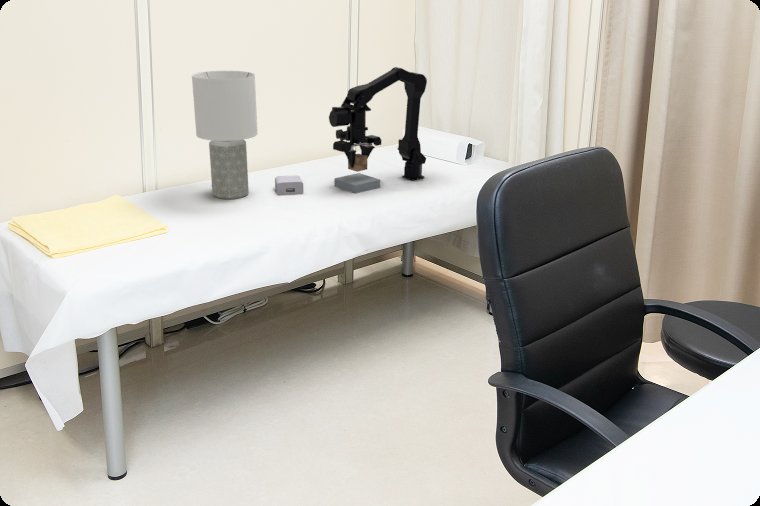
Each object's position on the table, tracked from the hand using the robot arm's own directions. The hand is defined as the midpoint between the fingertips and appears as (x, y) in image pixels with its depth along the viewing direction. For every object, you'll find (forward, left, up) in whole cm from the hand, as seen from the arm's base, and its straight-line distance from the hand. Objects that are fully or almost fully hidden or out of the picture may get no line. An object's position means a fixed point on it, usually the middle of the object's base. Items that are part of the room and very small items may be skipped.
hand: (357, 166), depth 271 cm
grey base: (0, 0, -8) cm, 8 cm away
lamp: (+41, -21, -8) cm, 47 cm away
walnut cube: (0, 0, -1) cm, 1 cm away
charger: (+21, -14, -8) cm, 27 cm away
